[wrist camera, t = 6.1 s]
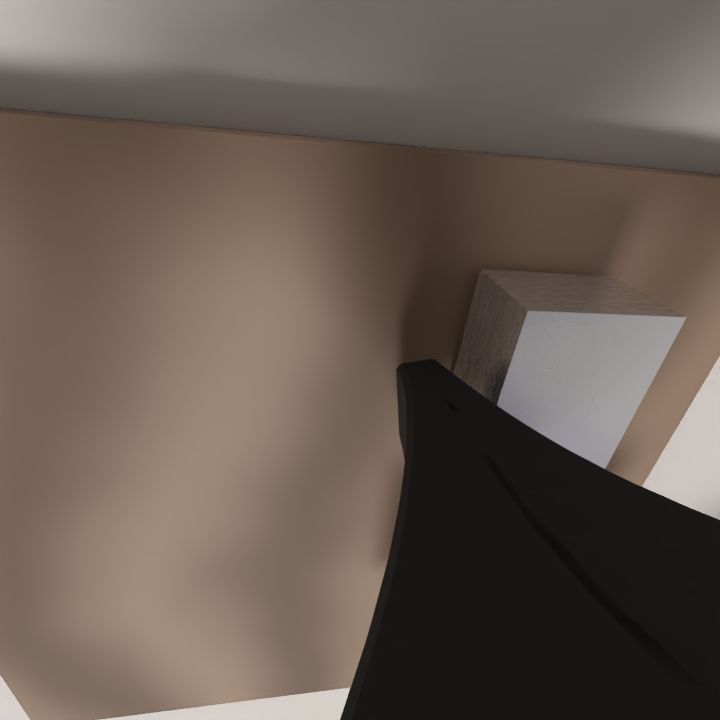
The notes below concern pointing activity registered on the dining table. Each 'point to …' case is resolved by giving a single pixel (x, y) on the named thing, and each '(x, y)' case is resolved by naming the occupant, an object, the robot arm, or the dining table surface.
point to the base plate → (263, 382)
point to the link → (565, 353)
